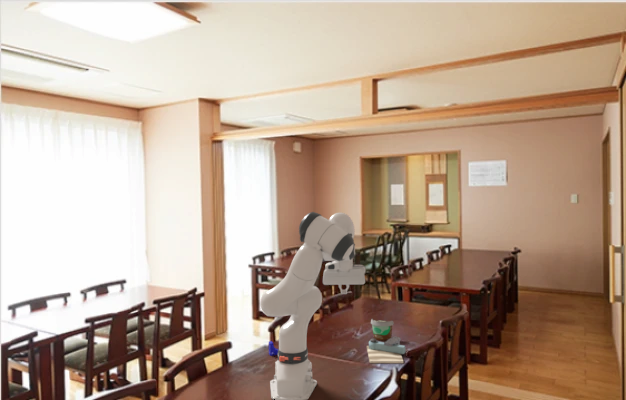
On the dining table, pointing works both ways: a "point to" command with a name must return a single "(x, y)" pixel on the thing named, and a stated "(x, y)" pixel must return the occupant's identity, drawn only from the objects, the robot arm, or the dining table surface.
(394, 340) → the keeper
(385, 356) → the board
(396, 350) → the link
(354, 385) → the dining table surface
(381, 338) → the food container
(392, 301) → the dining table surface
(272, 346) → the cable clip
